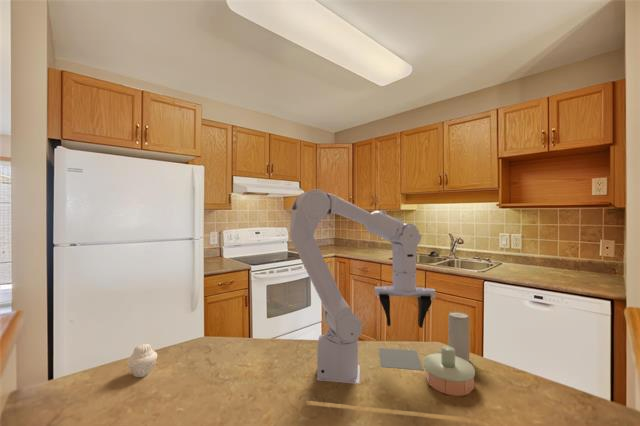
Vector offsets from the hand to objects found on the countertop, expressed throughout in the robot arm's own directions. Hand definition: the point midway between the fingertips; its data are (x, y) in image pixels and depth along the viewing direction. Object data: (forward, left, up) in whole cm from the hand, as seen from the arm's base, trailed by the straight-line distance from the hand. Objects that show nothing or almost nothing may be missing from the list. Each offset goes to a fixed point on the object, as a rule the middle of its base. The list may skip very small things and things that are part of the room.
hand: (404, 325), depth 72 cm
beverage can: (+14, +4, -10) cm, 18 cm away
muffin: (-62, -14, -10) cm, 64 cm away
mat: (-1, +2, -10) cm, 10 cm away
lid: (+9, -7, -6) cm, 13 cm away
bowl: (+9, -8, -10) cm, 15 cm away
